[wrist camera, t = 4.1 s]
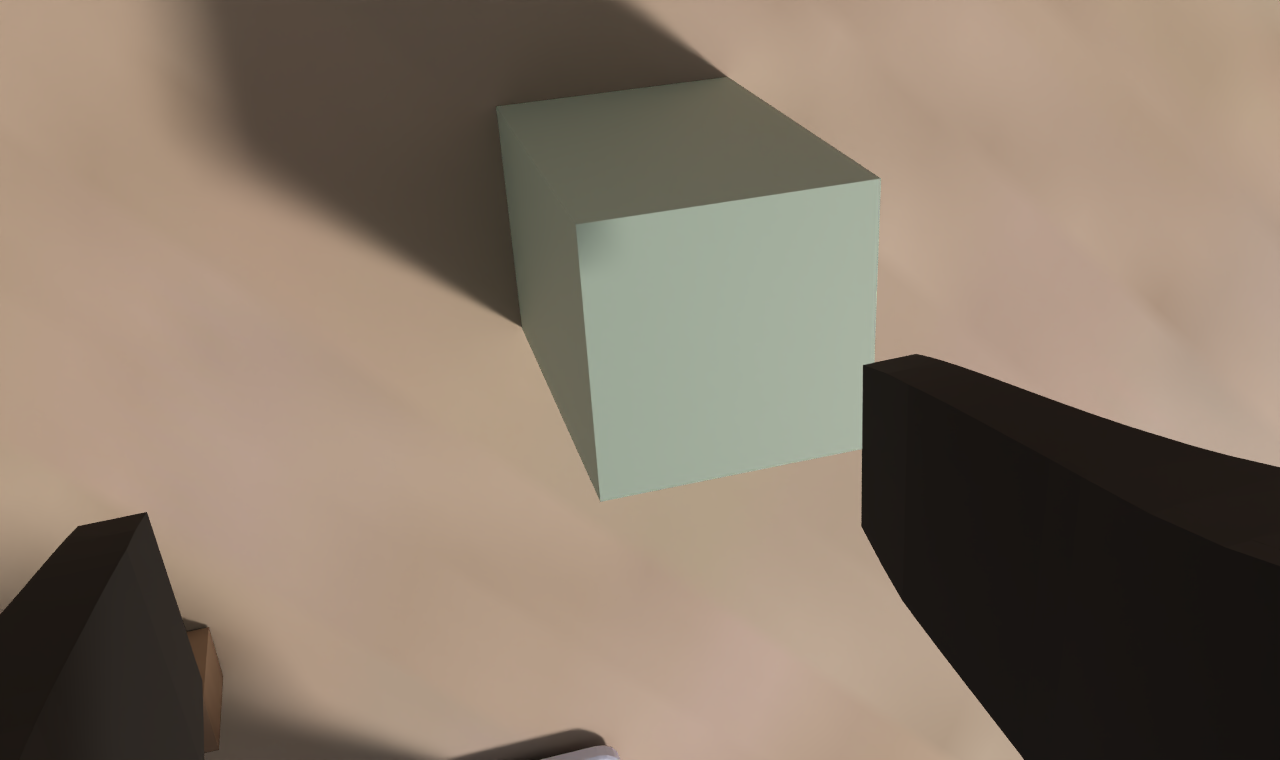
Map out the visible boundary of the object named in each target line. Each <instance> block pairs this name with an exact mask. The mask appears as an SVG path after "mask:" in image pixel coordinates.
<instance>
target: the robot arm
mask: <svg viewBox="0 0 1280 760" xmlns="http://www.w3.org/2000/svg"><path fill="white" fill-rule="evenodd" d="M861 526H862V528H863V530H864V532H865V534H866V536H867V538H868V540H869V542H870V543H871V545H872V547H873V549H874V551H875V553H876V555H877V557H878V558H879V560H880V562H881V564H882V566H883V568H884V570H885V571H886V573H887V575H888V576H889V578H890V580H891V582H892V583H893V585H894V587H895V589H896V590H897V592H898V594H899V595H900V597H901V599H902V601H903V602H904V603H905V605H906V606H907V607H908V609H909V610H910V611H911V613H912V614H913V616H914V617H915V618H916V620H917V621H918V622H919V624H920V625H921V626H922V627H923V629H924V630H925V631H926V633H927V634H928V635H929V637H930V638H931V639H932V641H933V642H934V643H935V645H936V646H937V647H938V649H939V650H940V651H941V653H942V654H943V655H944V657H945V658H946V659H947V660H948V662H949V663H950V664H951V666H952V667H953V668H954V669H955V671H956V672H957V673H958V675H959V676H960V677H961V678H962V680H963V681H964V682H965V684H966V685H967V686H968V688H969V689H970V690H971V691H972V693H973V694H974V695H975V697H976V698H977V699H978V700H979V702H980V703H981V704H982V706H983V707H984V708H985V709H986V711H987V712H988V713H989V715H990V716H991V717H992V719H993V720H994V721H995V722H996V724H997V725H998V726H999V728H1000V729H1001V730H1002V731H1003V733H1004V734H1005V735H1006V737H1007V738H1008V739H1009V741H1010V742H1011V743H1012V744H1013V746H1014V747H1015V748H1016V750H1017V751H1018V752H1019V753H1020V755H1021V756H1022V757H1023V759H1024V760H1280V467H1276V466H1271V465H1267V464H1263V463H1259V462H1254V461H1250V460H1246V459H1241V458H1237V457H1233V456H1228V455H1225V454H1221V453H1217V452H1213V451H1210V450H1206V449H1202V448H1198V447H1195V446H1191V445H1188V444H1185V443H1181V442H1178V441H1175V440H1172V439H1168V438H1165V437H1162V436H1158V435H1155V434H1152V433H1149V432H1145V431H1142V430H1139V429H1136V428H1132V427H1129V426H1126V425H1123V424H1120V423H1117V422H1114V421H1111V420H1108V419H1105V418H1102V417H1099V416H1096V415H1094V414H1091V413H1088V412H1085V411H1082V410H1079V409H1076V408H1074V407H1071V406H1068V405H1065V404H1063V403H1060V402H1057V401H1054V400H1051V399H1049V398H1046V397H1043V396H1040V395H1038V394H1035V393H1032V392H1030V391H1027V390H1024V389H1021V388H1019V387H1016V386H1013V385H1011V384H1008V383H1005V382H1002V381H1000V380H997V379H994V378H991V377H989V376H986V375H983V374H980V373H978V372H975V371H972V370H969V369H966V368H963V367H960V366H957V365H954V364H951V363H948V362H945V361H942V360H938V359H935V358H931V357H927V356H923V355H918V354H914V355H909V356H904V357H899V358H895V359H890V360H885V361H880V362H875V363H870V364H865V365H863V403H862V524H861ZM0 760H204V717H203V683H202V678H201V675H200V672H199V669H198V666H197V663H196V660H195V657H194V654H193V651H192V648H191V645H190V642H189V639H188V636H187V633H186V629H185V626H184V623H183V620H182V617H181V614H180V611H179V608H178V605H177V602H176V599H175V596H174V593H173V590H172V587H171V584H170V581H169V578H168V575H167V572H166V569H165V566H164V563H163V560H162V557H161V554H160V551H159V548H158V545H157V542H156V538H155V535H154V532H153V529H152V526H151V523H150V520H149V517H148V514H147V512H145V513H140V514H135V515H131V516H126V517H121V518H116V519H111V520H106V521H101V522H96V523H92V524H87V525H82V526H78V527H77V528H76V529H75V530H74V531H73V532H72V533H71V534H70V535H69V536H68V537H67V538H66V539H65V540H64V542H63V543H62V544H61V545H60V546H59V547H58V548H57V549H56V551H55V552H54V553H53V554H52V555H51V556H50V557H49V559H48V560H47V561H46V562H45V563H44V564H43V566H42V567H41V568H40V569H39V570H38V571H37V573H36V574H35V575H34V576H33V577H32V578H31V580H30V581H29V582H28V583H27V584H26V585H25V587H24V588H23V589H22V590H21V591H20V592H19V594H18V595H17V596H16V597H15V598H14V599H13V601H12V602H11V603H10V604H9V605H8V606H7V607H6V609H5V610H4V611H3V612H2V613H1V614H0ZM541 760H620V758H619V755H618V753H617V751H616V750H615V749H613V748H612V747H609V746H605V745H602V746H594V747H590V748H586V749H582V750H578V751H573V752H569V753H565V754H561V755H557V756H553V757H549V758H545V759H541Z"/></svg>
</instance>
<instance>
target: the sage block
mask: <svg viewBox="0 0 1280 760" xmlns="http://www.w3.org/2000/svg"><path fill="white" fill-rule="evenodd" d="M496 110H497V119H498V127H499V136H500V144H501V153H502V162H503V170H504V179H505V187H506V196H507V205H508V213H509V222H510V230H511V239H512V247H513V256H514V265H515V273H516V282H517V290H518V299H519V308H520V316H521V325H522V329H523V331H524V333H525V335H526V338H527V340H528V342H529V344H530V347H531V349H532V351H533V353H534V355H535V358H536V360H537V362H538V364H539V367H540V369H541V371H542V373H543V375H544V378H545V380H546V382H547V384H548V386H549V389H550V391H551V393H552V395H553V398H554V400H555V402H556V404H557V406H558V409H559V411H560V413H561V415H562V418H563V420H564V422H565V424H566V426H567V429H568V431H569V433H570V435H571V437H572V440H573V442H574V444H575V446H576V449H577V451H578V453H579V455H580V457H581V460H582V462H583V464H584V466H585V469H586V471H587V473H588V475H589V477H590V480H591V482H592V484H593V486H594V488H595V491H596V493H597V495H598V497H599V500H600V502H601V501H606V500H611V499H616V498H621V497H626V496H631V495H636V494H641V493H646V492H651V491H656V490H661V489H666V488H671V487H676V486H681V485H686V484H691V483H696V482H701V481H706V480H711V479H716V478H721V477H726V476H731V475H736V474H740V473H745V472H750V471H755V470H760V469H765V468H770V467H775V466H780V465H785V464H790V463H795V462H800V461H805V460H810V459H815V458H820V457H825V456H830V455H835V454H840V453H845V452H850V451H855V450H860V449H862V403H863V365H865V364H870V363H874V357H875V329H876V302H877V274H878V246H879V218H880V190H881V178H879V177H878V176H876V175H875V174H873V173H872V172H870V171H869V170H867V169H866V168H864V167H863V166H861V165H860V164H858V163H857V162H855V161H854V160H852V159H851V158H849V157H848V156H846V155H845V154H843V153H842V152H840V151H839V150H837V149H836V148H834V147H833V146H831V145H830V144H828V143H827V142H825V141H824V140H822V139H821V138H819V137H817V136H816V135H814V134H813V133H811V132H810V131H808V130H807V129H805V128H804V127H802V126H801V125H799V124H798V123H796V122H795V121H793V120H792V119H790V118H789V117H787V116H786V115H784V114H783V113H781V112H780V111H778V110H777V109H775V108H774V107H772V106H771V105H769V104H768V103H766V102H765V101H763V100H762V99H760V98H759V97H757V96H756V95H754V94H753V93H751V92H750V91H748V90H747V89H745V88H744V87H742V86H741V85H739V84H738V83H736V82H735V81H733V80H732V79H730V78H728V77H722V78H714V79H707V80H699V81H691V82H683V83H675V84H667V85H660V86H652V87H644V88H636V89H628V90H620V91H613V92H605V93H597V94H589V95H581V96H574V97H566V98H558V99H550V100H542V101H534V102H527V103H519V104H511V105H503V106H496Z"/></svg>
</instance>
